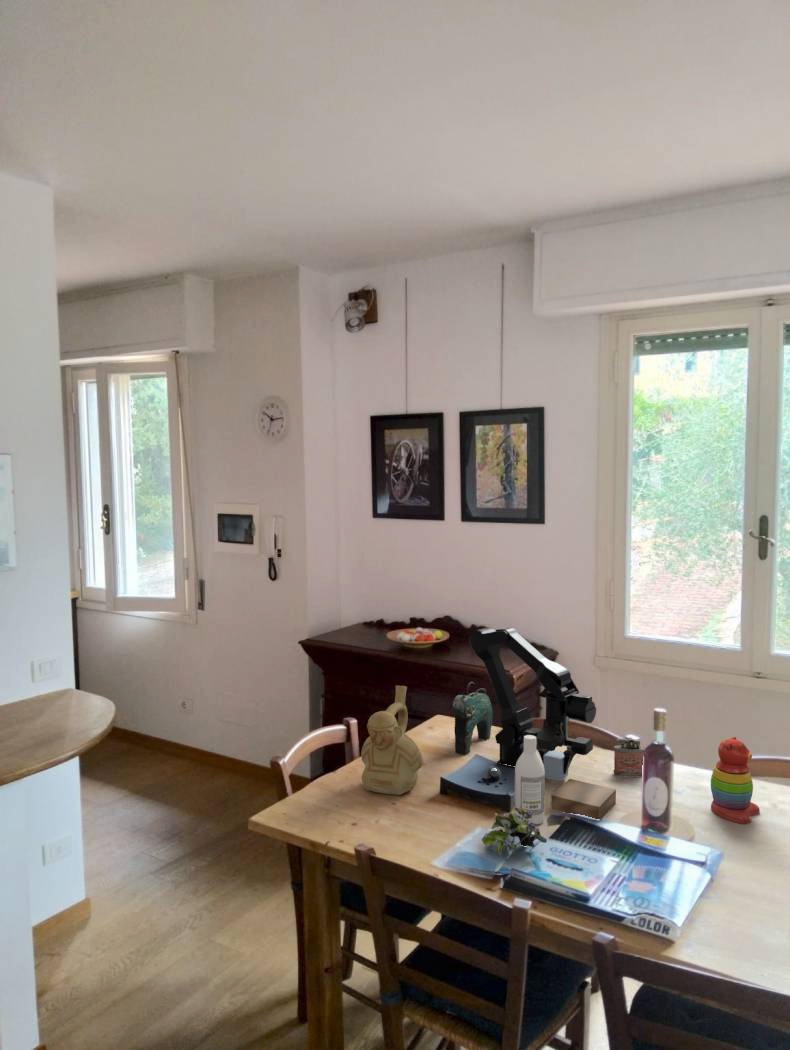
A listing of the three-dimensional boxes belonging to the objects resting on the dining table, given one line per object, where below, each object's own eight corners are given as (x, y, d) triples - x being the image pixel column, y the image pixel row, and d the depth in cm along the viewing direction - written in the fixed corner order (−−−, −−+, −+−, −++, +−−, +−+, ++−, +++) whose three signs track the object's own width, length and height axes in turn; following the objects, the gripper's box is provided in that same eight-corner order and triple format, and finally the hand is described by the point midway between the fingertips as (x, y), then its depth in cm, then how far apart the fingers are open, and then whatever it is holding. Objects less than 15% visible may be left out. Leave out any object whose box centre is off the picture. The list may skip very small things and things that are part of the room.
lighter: (642, 772, 211) (643, 736, 211) (645, 777, 208) (646, 741, 207) (612, 771, 212) (612, 735, 211) (614, 776, 209) (615, 740, 208)
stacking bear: (746, 826, 179) (748, 751, 178) (702, 813, 186) (704, 740, 185) (761, 810, 187) (764, 739, 186) (719, 799, 194) (721, 729, 193)
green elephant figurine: (466, 758, 223) (466, 689, 221) (446, 753, 226) (446, 686, 225) (496, 737, 239) (496, 674, 238) (477, 734, 243) (477, 671, 241)
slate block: (543, 777, 208) (543, 755, 208) (550, 771, 213) (550, 749, 212) (560, 781, 206) (561, 759, 205) (568, 775, 210) (568, 753, 209)
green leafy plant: (523, 871, 170) (556, 832, 168) (505, 885, 161) (540, 843, 158) (486, 831, 175) (517, 793, 173) (467, 842, 166) (500, 802, 163)
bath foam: (550, 822, 182) (551, 739, 180) (525, 828, 179) (526, 743, 177) (532, 810, 188) (533, 730, 186) (508, 816, 185) (509, 734, 183)
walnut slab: (551, 811, 189) (551, 795, 188) (569, 793, 199) (569, 778, 198) (598, 823, 182) (599, 806, 182) (615, 805, 192) (615, 789, 192)
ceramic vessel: (346, 795, 197) (346, 699, 195) (377, 768, 215) (376, 679, 213) (409, 806, 191) (408, 706, 189) (435, 777, 209) (435, 686, 207)
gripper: (511, 716, 207) (511, 773, 208) (578, 729, 196) (577, 789, 197) (529, 706, 216) (528, 760, 217) (594, 718, 205) (593, 775, 206)
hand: (555, 771), depth 209 cm, fingers closed on slate block, 5 cm apart
